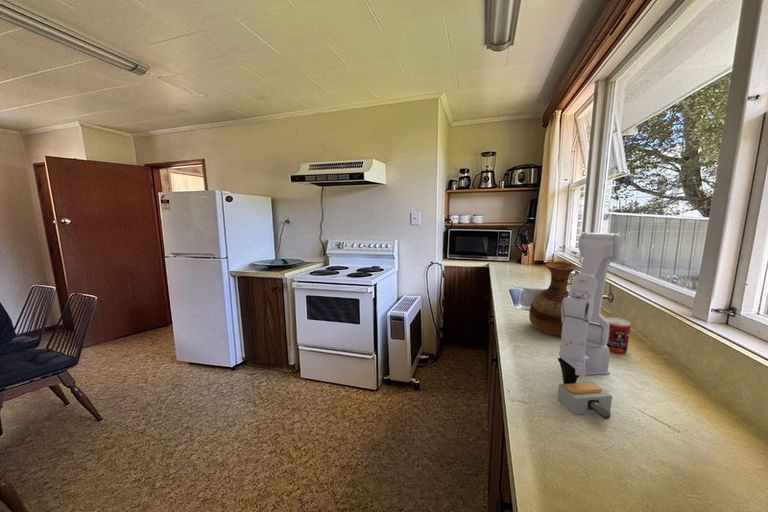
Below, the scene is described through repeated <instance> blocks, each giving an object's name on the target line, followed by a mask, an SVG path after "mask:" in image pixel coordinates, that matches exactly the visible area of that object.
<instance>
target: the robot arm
mask: <svg viewBox="0 0 768 512" xmlns="http://www.w3.org/2000/svg"><path fill="white" fill-rule="evenodd" d="M621 245H622V236H621V235H620V233H606V232H605V233H604V232H603V233H602V232H586V231H583V232H581V233H580V235H579V238H578V246H577V247H578V251H579V252H580V255H581V257H582V262H581V267H580V271H579V272H580V273H578V274H576V275H575V276H573V279H572V281H571V285H570V288H569V291H568V292H569V294H568V297H567V298H566V297H564V299H563V301H562V305H561V315H562V318H561V322H562V323H563V326H562V336H561V335H560V336H561V337H560V339H561V340H560V343H559V351H558V356H559V357H557V361H558V362H559V366H560V368H561V369H560V370H561V375H562V381H563V383H562V384H571V383H577V381H578V380H579V377H580V376H582V377H585V376H590V375H604V374H611V371H610V370H609V366H610V357H611V352H610V351H609V348H608V346H607V342H608V339H609V331H610V330H609V327H610V324H609V321H608V320H607V319H606V318H607V317H604V316H603V315H602V314H601V310H602V304H603V298H604V292H605V286H606V279H607V272H608V268H609V266H610V264H611V263H613V262H614V263H615V262H617V261H618V259H619V256H620V252H621Z"/></svg>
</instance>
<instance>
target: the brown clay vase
mask: <svg viewBox="0 0 768 512" xmlns="http://www.w3.org/2000/svg"><path fill="white" fill-rule="evenodd" d="M545 267H546V268H547V269H548V270H549V272H550V275H551V276H550V284H549V286H548V288H544V290H542V291H540V292H539V293H538V294H537V295H536V296H535V297H534V299H533V300H532V302H531V304H530V308H529V312H528V313H529V314H528V315H529V316H528V317H529V322H530V323H531V325H533V326H534V327H535V328H536V329H537V330H540V331H542V332H543V333H546V334H549V335H553V336H562V326H563V323H562V322H561V318H562V315H561V305H562V301H563V299H564V297H566V298H567V297H568V294H569V291H568V289H567V286H568V282H569V277H570V274H571V272H573V271H574V270H576V269H577V265H576V264H574V263H573V262H567V261H563V260H562V261H558V260H557V261H548V262H547V263H545Z"/></svg>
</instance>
